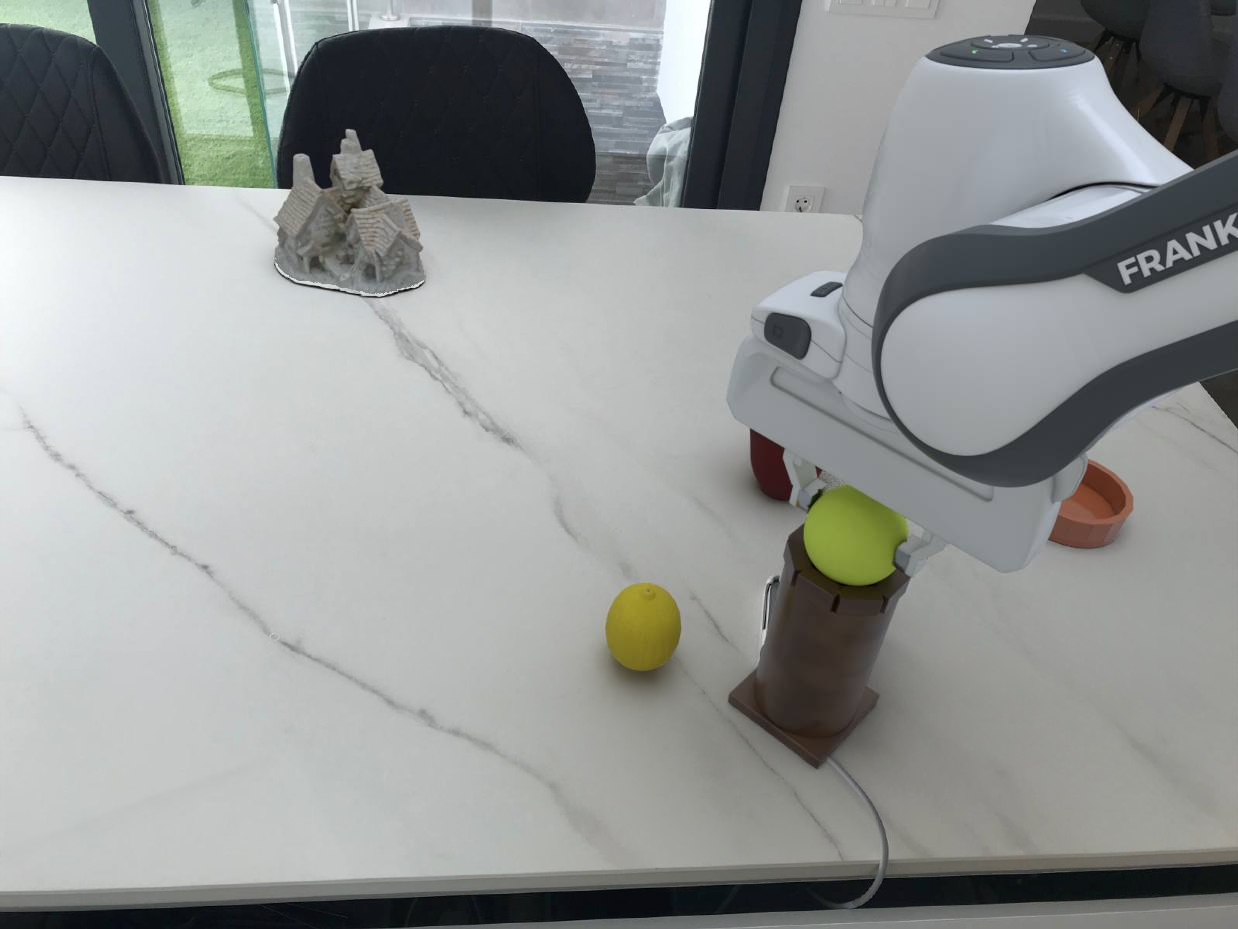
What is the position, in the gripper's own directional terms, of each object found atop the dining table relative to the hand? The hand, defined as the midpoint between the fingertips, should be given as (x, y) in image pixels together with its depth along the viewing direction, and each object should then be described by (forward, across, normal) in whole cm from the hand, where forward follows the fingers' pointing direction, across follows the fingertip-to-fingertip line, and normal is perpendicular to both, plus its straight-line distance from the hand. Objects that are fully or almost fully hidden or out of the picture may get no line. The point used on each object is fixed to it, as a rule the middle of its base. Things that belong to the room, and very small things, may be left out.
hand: (854, 535), depth 61 cm
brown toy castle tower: (+17, 0, 0) cm, 17 cm away
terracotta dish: (+17, -5, -36) cm, 40 cm away
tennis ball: (0, 0, 0) cm, 0 cm away
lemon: (+18, +11, +6) cm, 21 cm away
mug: (+18, +15, -20) cm, 30 cm away
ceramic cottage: (+18, +74, -13) cm, 77 cm away
